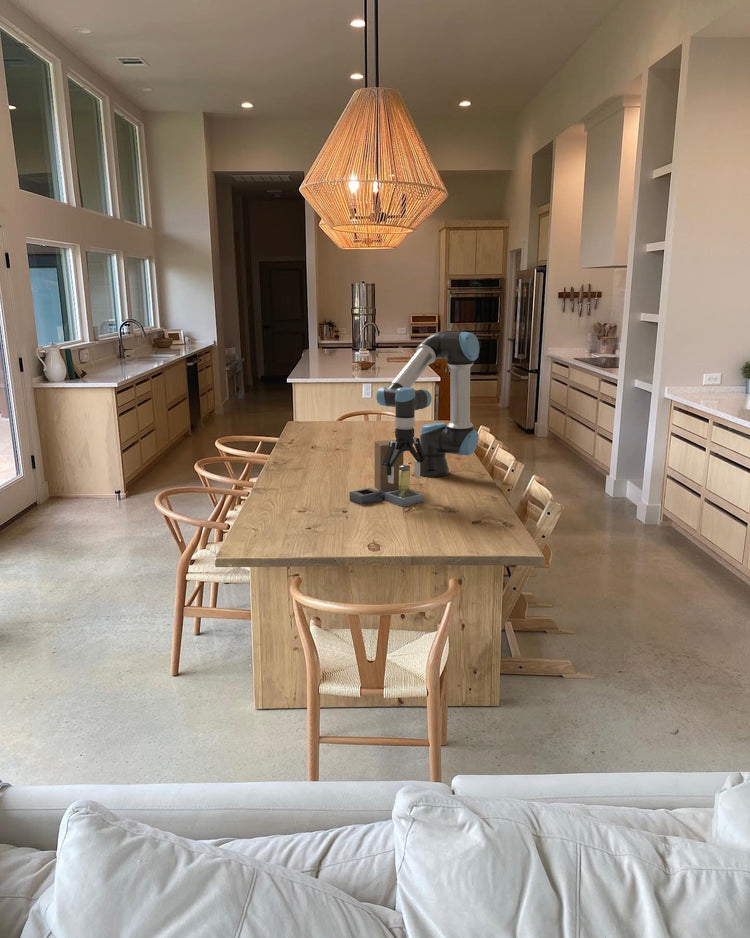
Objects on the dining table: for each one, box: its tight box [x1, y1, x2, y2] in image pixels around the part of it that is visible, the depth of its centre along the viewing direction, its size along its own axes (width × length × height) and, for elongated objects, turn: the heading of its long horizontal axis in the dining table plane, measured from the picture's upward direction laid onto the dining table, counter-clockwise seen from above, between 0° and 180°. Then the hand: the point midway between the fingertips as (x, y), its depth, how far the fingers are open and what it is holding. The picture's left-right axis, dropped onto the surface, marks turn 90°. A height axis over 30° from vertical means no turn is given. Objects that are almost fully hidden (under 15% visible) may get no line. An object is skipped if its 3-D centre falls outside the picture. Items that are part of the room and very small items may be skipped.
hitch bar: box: [349, 487, 392, 506], centre depth 296 cm, size 18×8×4 cm, turn 128°
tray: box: [384, 489, 424, 507], centre depth 293 cm, size 11×11×3 cm
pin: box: [399, 464, 411, 498], centre depth 292 cm, size 4×4×14 cm
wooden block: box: [373, 439, 404, 491], centre depth 310 cm, size 10×10×20 cm
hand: (404, 480), depth 292 cm, fingers open, 13 cm apart
